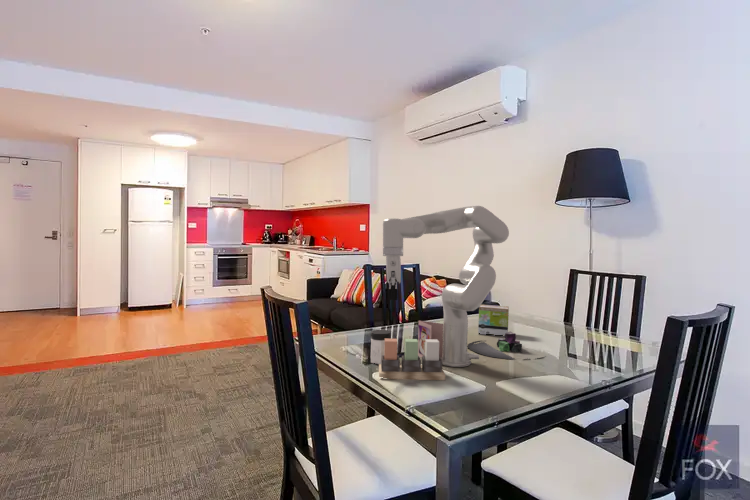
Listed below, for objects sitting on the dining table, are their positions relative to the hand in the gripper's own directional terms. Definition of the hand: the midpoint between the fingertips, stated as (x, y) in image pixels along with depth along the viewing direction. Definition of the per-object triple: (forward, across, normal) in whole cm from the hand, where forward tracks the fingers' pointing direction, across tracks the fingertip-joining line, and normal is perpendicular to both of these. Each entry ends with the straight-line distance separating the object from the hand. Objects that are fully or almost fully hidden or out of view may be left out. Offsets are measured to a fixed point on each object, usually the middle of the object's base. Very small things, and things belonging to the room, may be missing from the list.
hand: (392, 298), depth 159 cm
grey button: (+22, -4, -14) cm, 26 cm away
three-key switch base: (+27, -4, -6) cm, 28 cm away
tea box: (+29, +69, -53) cm, 92 cm away
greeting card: (+28, +18, -16) cm, 37 cm away
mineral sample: (+29, +37, -52) cm, 70 cm away
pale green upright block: (+22, -4, -7) cm, 23 cm away
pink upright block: (+21, -5, +1) cm, 22 cm away
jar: (+27, +11, +5) cm, 30 cm away
